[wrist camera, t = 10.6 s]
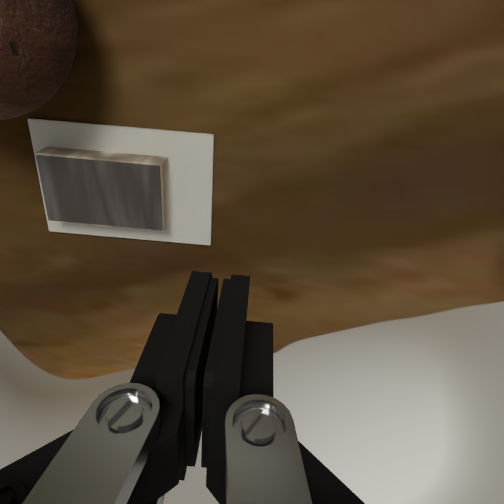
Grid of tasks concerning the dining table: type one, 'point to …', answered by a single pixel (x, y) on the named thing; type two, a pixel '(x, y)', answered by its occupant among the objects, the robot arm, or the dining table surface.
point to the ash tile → (105, 188)
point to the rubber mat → (144, 143)
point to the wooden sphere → (34, 52)
